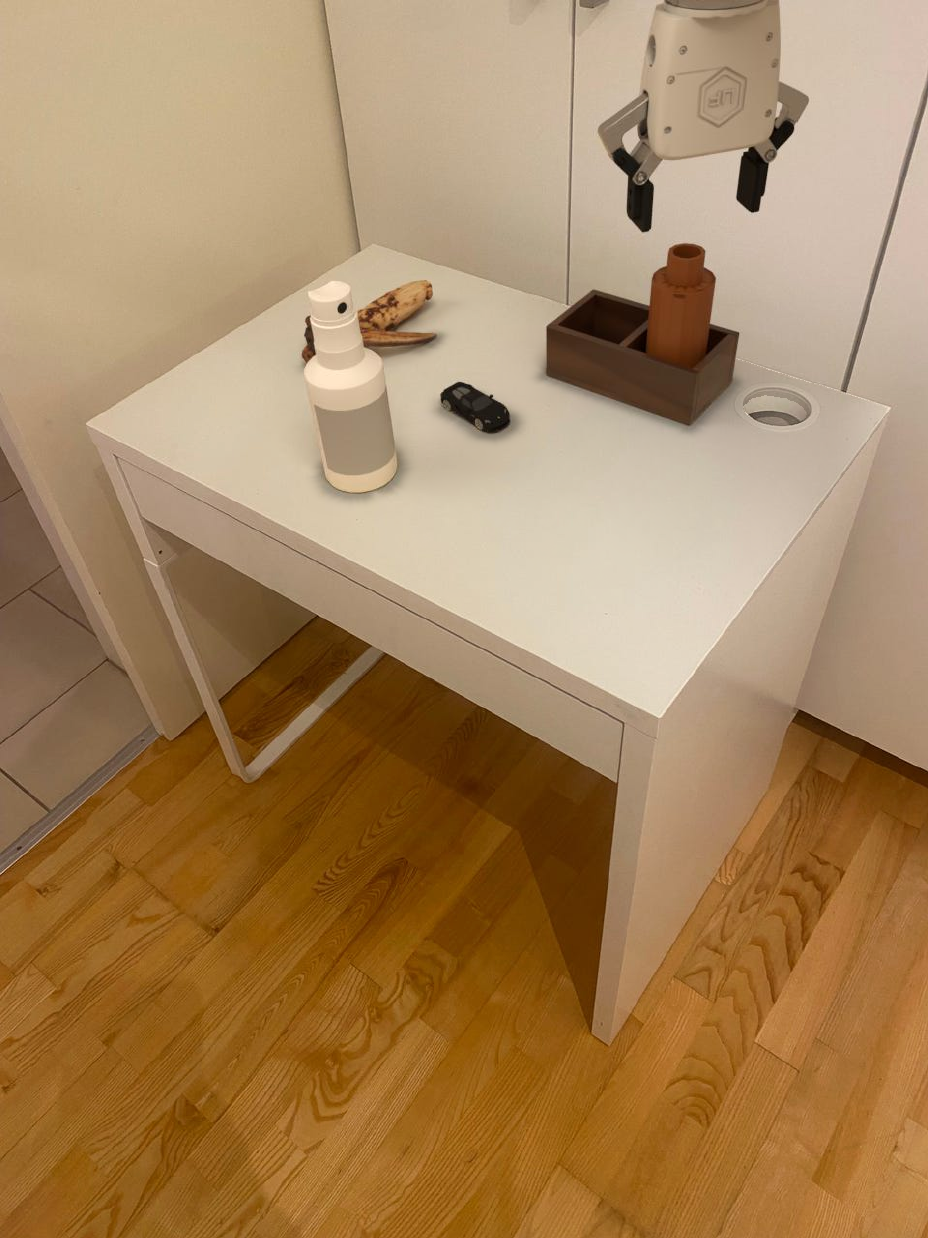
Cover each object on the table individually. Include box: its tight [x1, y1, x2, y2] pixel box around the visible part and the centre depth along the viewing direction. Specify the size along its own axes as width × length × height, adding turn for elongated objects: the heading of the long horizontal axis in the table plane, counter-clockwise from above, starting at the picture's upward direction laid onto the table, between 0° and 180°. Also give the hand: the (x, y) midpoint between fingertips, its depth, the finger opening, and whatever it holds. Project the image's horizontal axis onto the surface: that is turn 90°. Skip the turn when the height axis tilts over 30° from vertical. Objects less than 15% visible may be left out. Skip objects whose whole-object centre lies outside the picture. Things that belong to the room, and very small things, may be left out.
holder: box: [545, 289, 740, 427], centre depth 94 cm, size 9×16×6 cm, turn 52°
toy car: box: [439, 381, 511, 433], centre depth 93 cm, size 8×4×2 cm, turn 42°
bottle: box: [646, 242, 717, 368], centre depth 89 cm, size 6×6×14 cm
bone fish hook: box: [301, 279, 438, 364], centre depth 103 cm, size 9×5×18 cm
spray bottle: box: [303, 280, 399, 493], centre depth 82 cm, size 7×7×18 cm
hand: (694, 215), depth 82 cm, fingers open, 9 cm apart
